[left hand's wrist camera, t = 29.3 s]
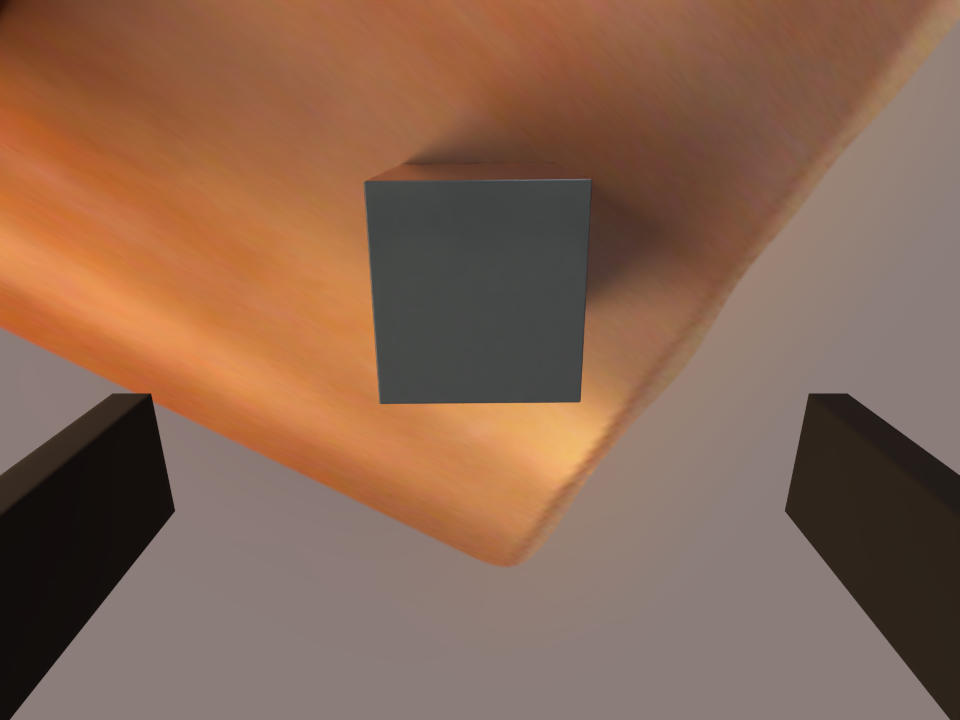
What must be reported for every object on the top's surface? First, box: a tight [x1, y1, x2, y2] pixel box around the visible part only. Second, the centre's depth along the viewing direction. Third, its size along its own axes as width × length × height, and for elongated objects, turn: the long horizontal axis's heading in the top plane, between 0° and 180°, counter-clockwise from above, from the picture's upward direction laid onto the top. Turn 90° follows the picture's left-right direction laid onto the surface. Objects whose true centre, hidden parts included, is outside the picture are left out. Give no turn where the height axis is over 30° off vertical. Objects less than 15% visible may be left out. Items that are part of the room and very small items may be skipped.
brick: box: [364, 162, 592, 404], centre depth 30 cm, size 9×8×12 cm
